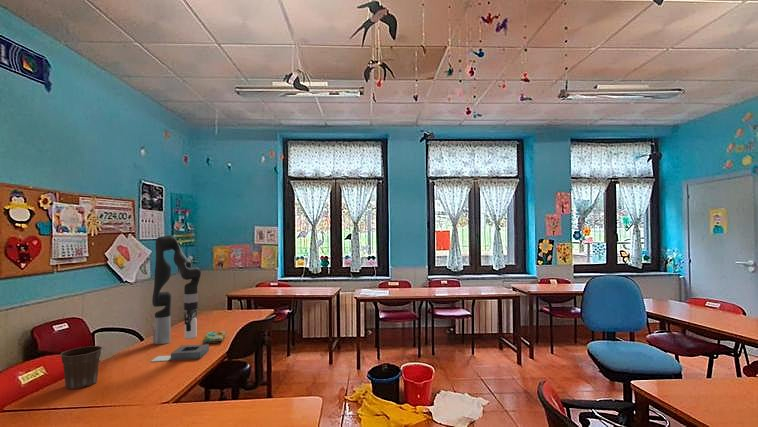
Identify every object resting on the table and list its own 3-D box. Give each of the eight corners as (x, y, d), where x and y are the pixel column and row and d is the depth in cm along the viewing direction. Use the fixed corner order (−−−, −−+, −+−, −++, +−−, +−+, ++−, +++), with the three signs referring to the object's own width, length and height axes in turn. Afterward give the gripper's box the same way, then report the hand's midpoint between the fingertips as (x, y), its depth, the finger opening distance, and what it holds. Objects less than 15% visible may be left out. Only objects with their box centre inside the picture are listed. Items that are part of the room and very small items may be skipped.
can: (182, 338, 234) (182, 317, 235) (193, 335, 239) (193, 315, 239) (187, 339, 230) (187, 318, 230) (198, 337, 235) (198, 316, 235)
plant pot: (52, 393, 181) (52, 357, 182) (69, 380, 196) (70, 347, 197) (93, 388, 185) (94, 353, 186) (107, 376, 201) (107, 344, 201)
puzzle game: (226, 329, 277) (221, 337, 258) (226, 336, 277) (221, 344, 258) (208, 331, 275) (202, 338, 255) (208, 337, 274) (202, 345, 255)
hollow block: (170, 360, 225) (170, 353, 225) (181, 352, 241) (181, 345, 241) (200, 359, 227) (200, 352, 227) (208, 350, 243) (208, 344, 243)
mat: (150, 362, 223) (150, 361, 223) (157, 357, 232) (157, 356, 232) (167, 361, 224) (167, 360, 224) (173, 356, 233) (173, 355, 233)
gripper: (188, 299, 242) (188, 326, 241) (179, 303, 228) (179, 333, 227) (201, 298, 243) (201, 326, 242) (193, 303, 229) (193, 332, 228)
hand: (190, 329), depth 235 cm, fingers closed on can, 6 cm apart
